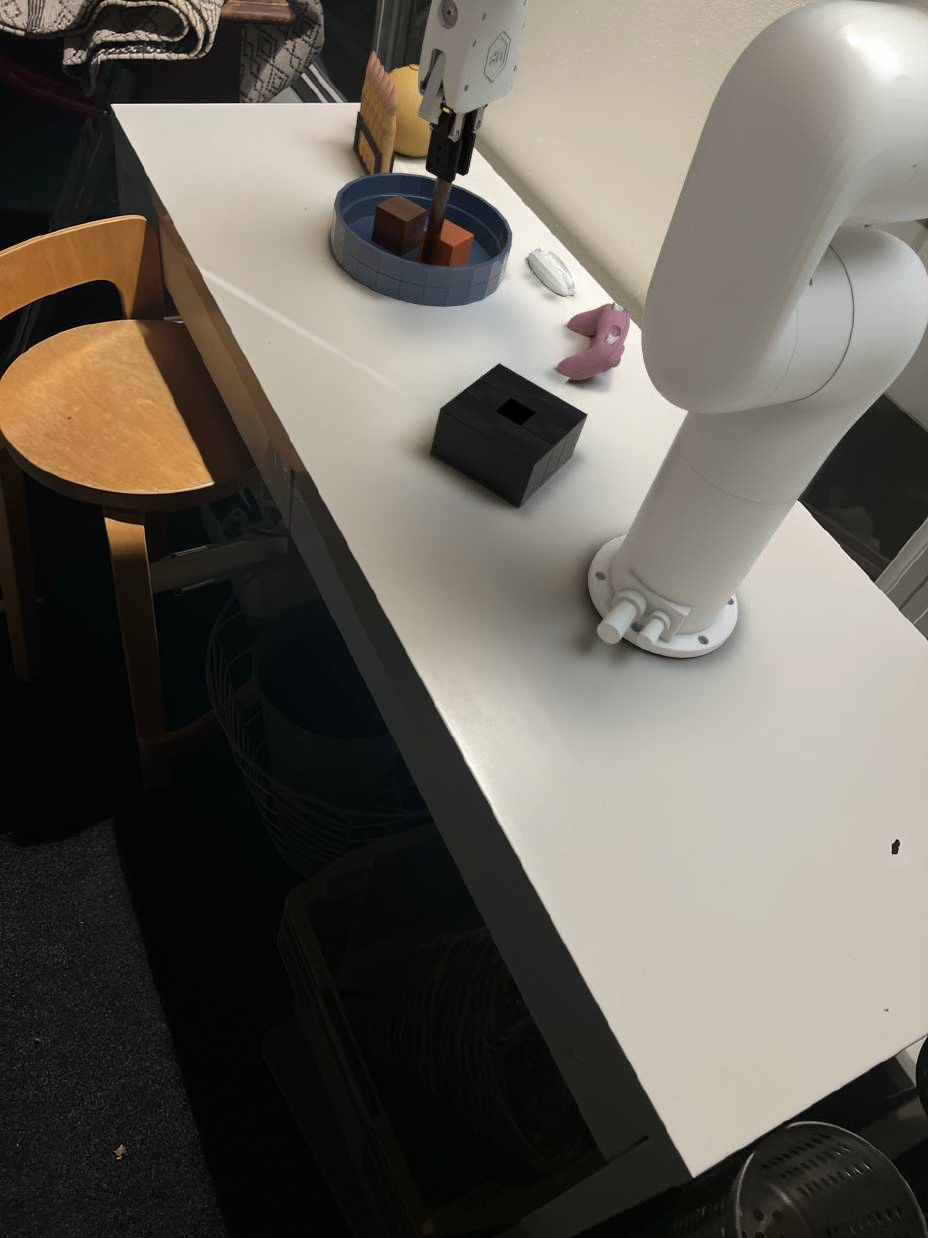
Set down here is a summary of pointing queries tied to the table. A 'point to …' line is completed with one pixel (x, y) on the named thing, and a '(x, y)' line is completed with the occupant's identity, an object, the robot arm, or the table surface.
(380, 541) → the table surface
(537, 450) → the stick stand
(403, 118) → the stress ball
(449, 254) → the terracotta block
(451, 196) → the bowl
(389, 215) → the walnut block
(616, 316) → the video game controller
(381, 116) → the ammunition clip
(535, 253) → the white ridged capsule
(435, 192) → the stirring stick
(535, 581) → the table surface
